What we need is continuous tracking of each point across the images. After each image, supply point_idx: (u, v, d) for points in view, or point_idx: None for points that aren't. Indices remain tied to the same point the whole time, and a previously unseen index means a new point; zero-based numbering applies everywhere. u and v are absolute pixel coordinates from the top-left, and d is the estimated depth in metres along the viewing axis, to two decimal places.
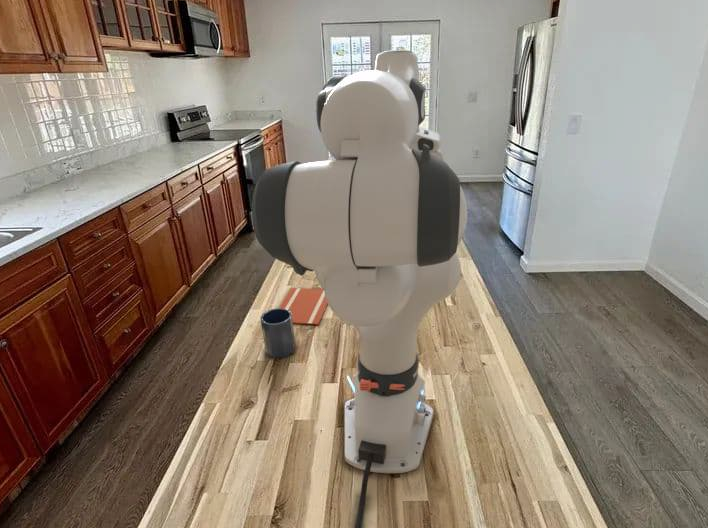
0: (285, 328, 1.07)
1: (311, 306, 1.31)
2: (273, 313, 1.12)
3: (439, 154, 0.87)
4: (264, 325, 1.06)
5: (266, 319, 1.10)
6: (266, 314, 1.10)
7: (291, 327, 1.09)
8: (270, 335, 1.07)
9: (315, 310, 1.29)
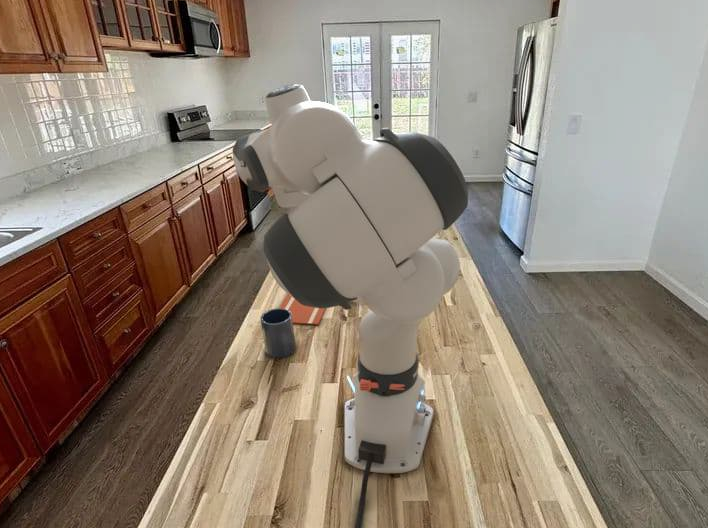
0: (285, 328, 1.07)
1: None
2: (273, 313, 1.12)
3: None
4: (264, 325, 1.06)
5: (266, 319, 1.10)
6: (266, 314, 1.10)
7: (291, 327, 1.09)
8: (270, 335, 1.07)
9: (315, 310, 1.29)
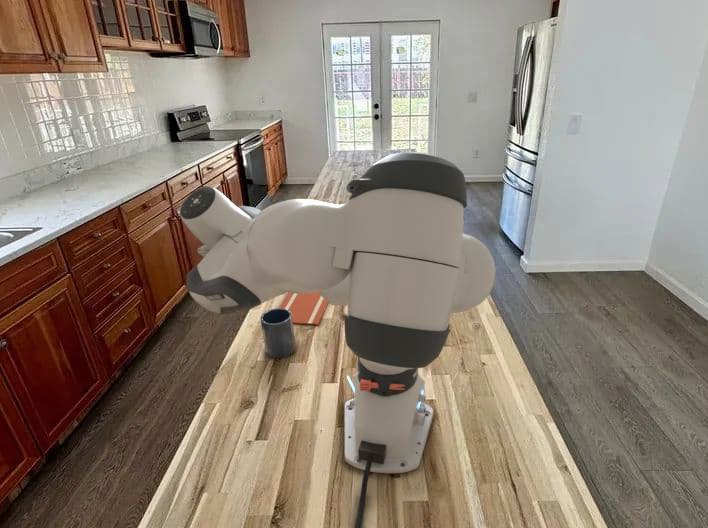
0: (285, 328, 1.07)
1: (311, 306, 1.31)
2: (273, 313, 1.12)
3: None
4: (264, 325, 1.06)
5: (266, 319, 1.10)
6: (266, 314, 1.10)
7: (291, 327, 1.09)
8: (270, 335, 1.07)
9: (315, 310, 1.29)
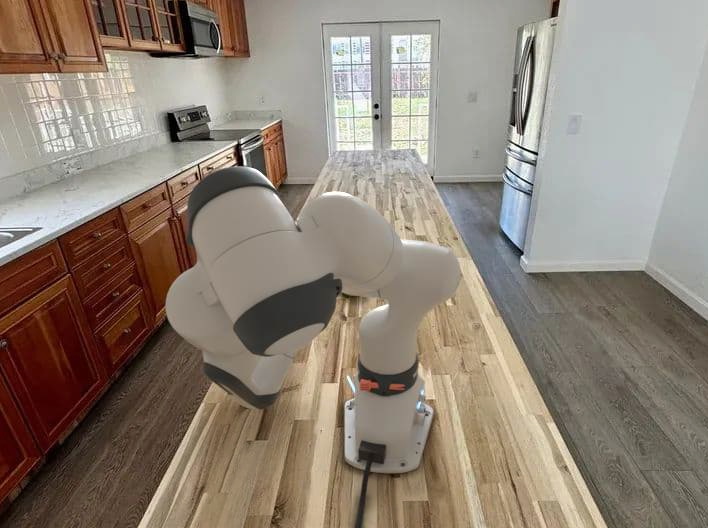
0: None
1: None
2: None
3: None
4: None
5: None
6: None
7: None
8: None
9: None
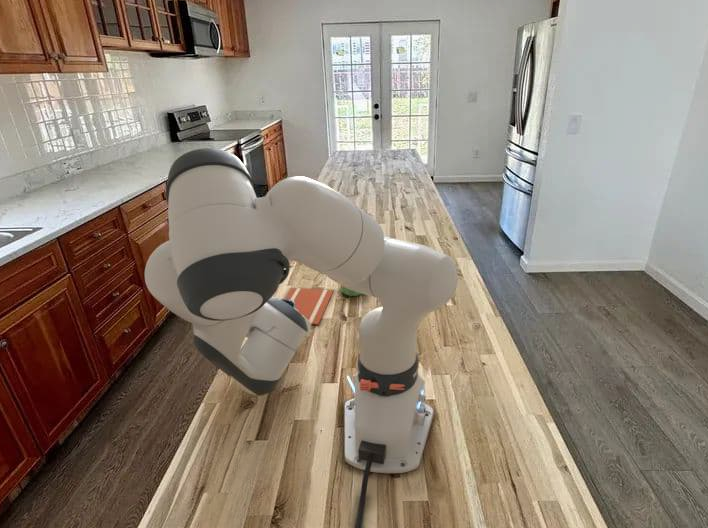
0: None
1: (311, 306, 1.31)
2: None
3: None
4: None
5: None
6: None
7: None
8: None
9: (315, 310, 1.29)
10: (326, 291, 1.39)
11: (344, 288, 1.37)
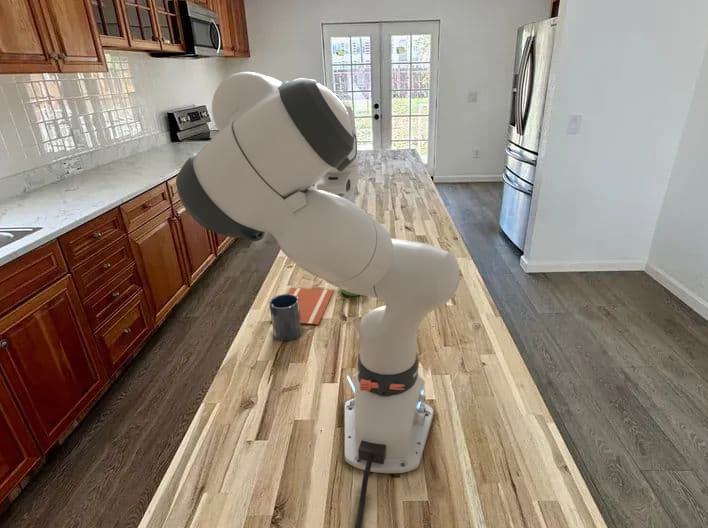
0: (293, 312, 1.13)
1: (311, 306, 1.31)
2: (281, 299, 1.18)
3: None
4: (273, 309, 1.13)
5: (274, 304, 1.17)
6: (274, 299, 1.17)
7: (298, 311, 1.16)
8: (278, 319, 1.13)
9: (315, 310, 1.29)
10: (326, 291, 1.39)
11: None
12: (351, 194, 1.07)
